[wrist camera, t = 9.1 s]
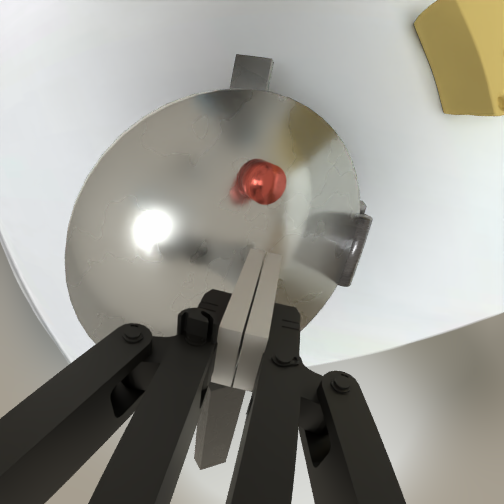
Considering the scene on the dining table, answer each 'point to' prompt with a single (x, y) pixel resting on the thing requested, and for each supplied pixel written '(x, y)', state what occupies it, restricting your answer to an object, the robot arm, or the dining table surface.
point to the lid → (213, 222)
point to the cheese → (466, 54)
